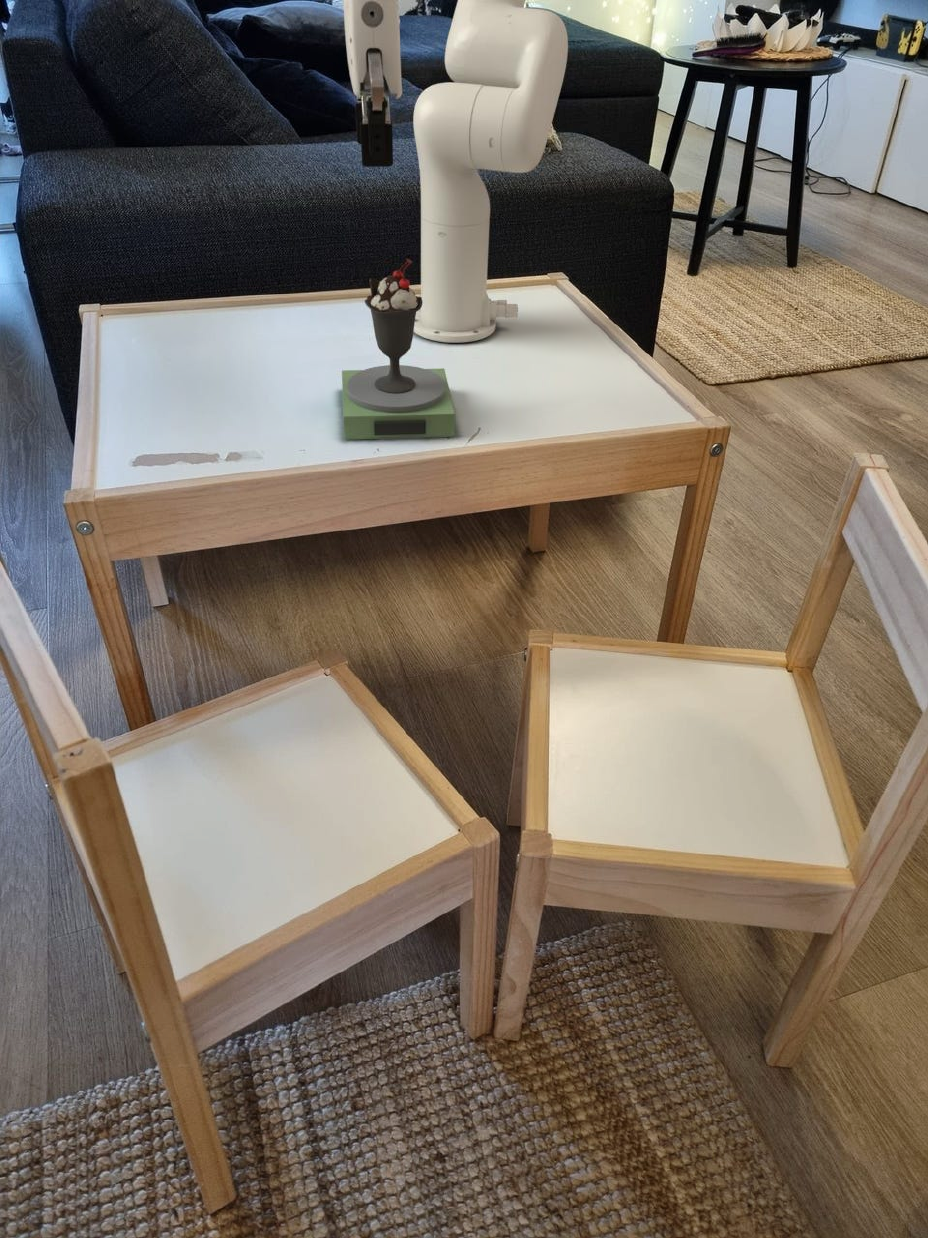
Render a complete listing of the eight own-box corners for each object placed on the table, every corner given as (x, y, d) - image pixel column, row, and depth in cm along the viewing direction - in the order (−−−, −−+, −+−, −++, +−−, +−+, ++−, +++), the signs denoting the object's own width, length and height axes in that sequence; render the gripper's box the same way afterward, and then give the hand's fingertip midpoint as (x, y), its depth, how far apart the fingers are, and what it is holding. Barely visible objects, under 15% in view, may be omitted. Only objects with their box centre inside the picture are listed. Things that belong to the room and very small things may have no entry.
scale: (443, 390, 119) (444, 362, 117) (455, 438, 109) (456, 409, 106) (343, 392, 118) (341, 364, 115) (344, 441, 107) (343, 411, 105)
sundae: (429, 393, 110) (430, 264, 100) (374, 398, 108) (369, 268, 99) (415, 371, 114) (415, 246, 105) (362, 376, 113) (357, 249, 103)
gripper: (415, -32, 82) (417, 174, 93) (398, -47, 95) (401, 135, 106) (331, -33, 81) (342, 175, 92) (325, -48, 95) (336, 136, 105)
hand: (374, 154), depth 99 cm, fingers open, 9 cm apart
